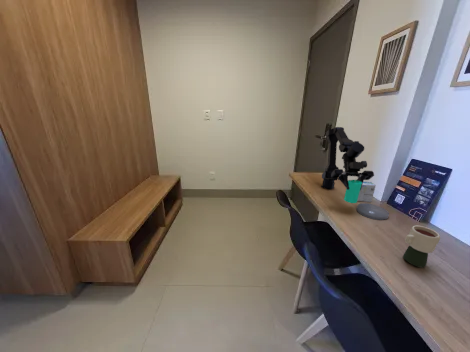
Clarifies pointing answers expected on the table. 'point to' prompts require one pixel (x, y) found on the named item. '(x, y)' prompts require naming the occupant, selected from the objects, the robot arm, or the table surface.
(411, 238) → the character mug
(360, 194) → the light bulb box
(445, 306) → the table surface
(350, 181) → the candle
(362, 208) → the charcoal plinth
